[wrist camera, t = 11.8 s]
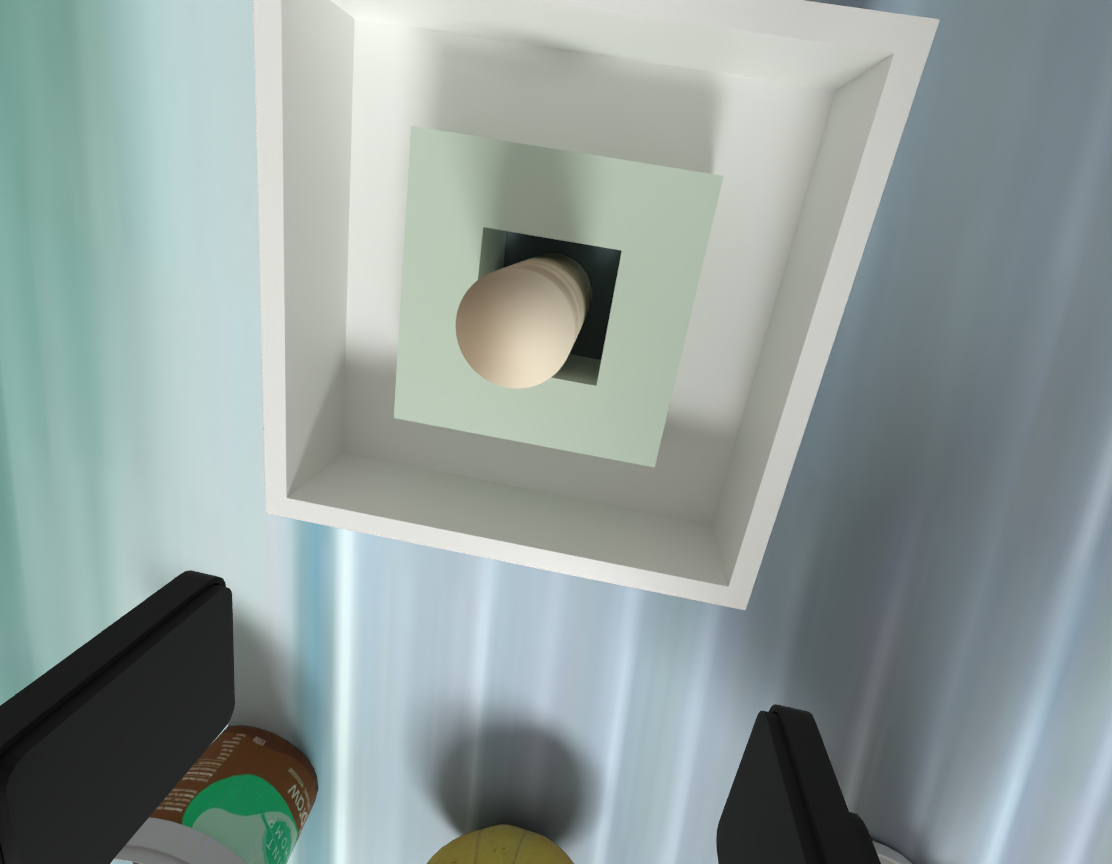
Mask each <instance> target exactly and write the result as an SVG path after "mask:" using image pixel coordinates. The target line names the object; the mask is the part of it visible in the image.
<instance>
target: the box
mask: <svg viewBox="0 0 1112 864" xmlns="http://www.w3.org/2000/svg"><path fill="white" fill-rule="evenodd" d="M253 12H254V53H255V93H256V133H257V174H258V214H259V255H260V295H261V336H262V376H263V417H264V457H265V498H266V513H268V514H273V515H278V516H283V517H287V518H292V519H297V520H302V521H307V522H312V523H317V524H322V525H327V526H332V527H337V528H342V529H347V530H351V531H356V532H361V533H366V534H371V535H376V536H381V537H386V538H391V539H396V540H401V541H406V542H411V543H416V544H420V545H425V546H430V547H435V548H440V549H445V550H450V551H455V552H460V553H465V554H470V555H475V556H480V557H485V558H489V559H494V560H499V561H504V562H509V563H514V564H519V565H524V566H529V567H534V568H539V569H544V570H549V571H553V572H558V573H563V574H568V575H573V576H578V577H583V578H588V579H593V580H598V581H603V582H608V583H613V584H618V585H622V586H627V587H632V588H637V589H642V590H647V591H652V592H657V593H662V594H667V595H672V596H677V597H682V598H687V599H691V600H696V601H701V602H706V603H711V604H716V605H721V606H726V607H731V608H736V609H741V610H746V608H747V605H748V601H749V598H750V595H751V592H752V589H753V586H754V583H755V580H756V577H757V574H758V571H759V568H760V565H761V562H762V559H763V556H764V553H765V550H766V547H767V544H768V541H769V538H770V535H771V532H772V528H773V525H774V522H775V519H776V516H777V513H778V510H779V507H780V504H781V501H782V498H783V495H784V492H785V489H786V486H787V483H788V480H789V477H790V474H791V471H792V468H793V465H794V462H795V459H796V455H797V452H798V449H799V446H800V443H801V440H802V437H803V434H804V431H805V428H806V425H807V422H808V419H809V416H810V413H811V410H812V407H813V404H814V401H815V398H816V395H817V392H818V389H819V386H820V382H821V379H822V376H823V373H824V370H825V367H826V364H827V361H828V358H829V355H830V352H831V349H832V346H833V343H834V340H835V337H836V334H837V331H838V328H839V325H840V322H841V319H842V316H843V313H844V309H845V306H846V303H847V300H848V297H849V294H850V291H851V288H852V285H853V282H854V279H855V276H856V273H857V270H858V267H859V264H860V261H861V258H862V255H863V252H864V249H865V246H866V243H867V239H868V236H869V233H870V230H871V227H872V224H873V221H874V218H875V215H876V212H877V209H878V206H879V203H880V200H881V197H882V194H883V191H884V188H885V185H886V182H887V179H888V176H889V173H890V170H891V166H892V163H893V160H894V157H895V154H896V151H897V148H898V145H899V142H900V139H901V136H902V133H903V130H904V127H905V124H906V121H907V118H908V115H909V112H910V109H911V106H912V103H913V100H914V97H915V93H916V90H917V87H918V84H919V81H920V78H921V75H922V72H923V69H924V66H925V63H926V60H927V57H928V54H929V51H930V48H931V45H932V42H933V39H934V36H935V33H936V30H937V27H938V24H939V20H940V19H933V18H926V17H919V16H911V15H904V14H897V13H890V12H883V11H876V10H869V9H862V8H855V7H848V6H841V5H834V4H827V3H819V2H812V1H805V0H253ZM507 231H509V232H515V233H521V234H527V235H533V236H539V237H545V238H551V239H556V240H562V241H568V242H574V243H580V244H586V245H592V246H598V247H604V248H610V249H616V250H621V251H622V252H621V258H620V263H619V268H618V274H617V279H616V284H615V290H614V295H613V300H612V306H611V311H610V316H609V322H608V327H607V332H606V338H605V343H604V348H603V354H602V359H601V360H598V359H592V358H587V357H581V356H575V355H570V354H569V355H568V357H567V359H566V361H565V363H564V364H563V366H562V367H561V368H560V369H559V371H558V372H557V373H556V374H555V375H553V376H552V377H551V378H550V379H548V380H546V381H545V382H543V383H541V384H538V385H536V386H532V387H529V388H519V389H514V388H506V387H502V386H498V385H496V384H493V383H491V382H489V381H487V380H486V379H484V378H483V377H481V376H480V375H479V374H478V373H476V372H475V371H474V370H473V369H472V368H471V366H470V365H469V364H468V363H467V361H466V360H465V358H464V356H463V354H462V352H461V350H460V348H459V345H458V341H457V337H456V315H457V311H458V307H459V304H460V302H461V300H462V298H463V296H464V295H465V293H466V292H467V290H468V289H469V288H470V287H471V286H472V285H473V284H474V283H475V282H476V281H477V280H479V279H480V278H482V277H483V276H485V275H487V274H489V273H491V272H494V271H497V270H499V269H502V268H503V263H504V255H505V246H506V238H507Z"/></svg>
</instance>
